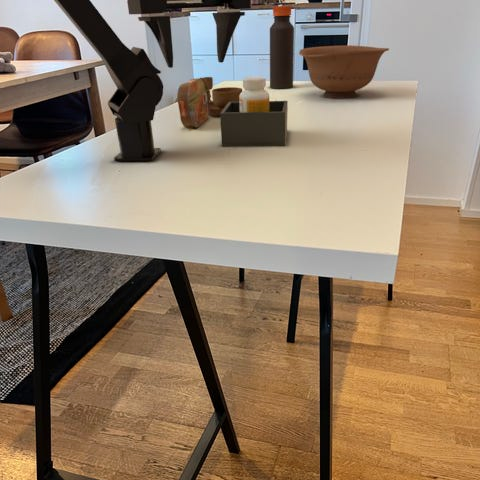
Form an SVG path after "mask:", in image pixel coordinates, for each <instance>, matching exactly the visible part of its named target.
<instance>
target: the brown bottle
mask: <svg viewBox="0 0 480 480" xmlns="http://www.w3.org/2000/svg"><path fill="white" fill-rule="evenodd" d="M272 16H273V18H272V19H274V20H273V23H272V25H271V26H269V87H270V89H274V90H286V89H291V88H293V87H294V58H295V57H294V56H295V55H294V51H295V45H294V44H295V27H294V25H293V24H292V22H291V17H292V6H291V5H277V6H276V5H275V6H272Z"/></svg>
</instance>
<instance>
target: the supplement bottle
mask: <svg viewBox="0 0 480 480" xmlns="http://www.w3.org/2000/svg"><path fill="white" fill-rule="evenodd" d="M266 79H267V78H266V77H264V76H249V77H248V76H247V77H244V78H243V79H242V89H244V90H242V92H241V93H240V96H239V105H240V112H269V101H270V93H269V92H268V91H267V90H266V89H265V87H266V85H267V83H266V82H267V81H266Z"/></svg>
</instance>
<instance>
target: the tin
mask: <svg viewBox="0 0 480 480" xmlns="http://www.w3.org/2000/svg"><path fill="white" fill-rule="evenodd" d="M203 78H204V77H199V78H190V79H189V80H187V81H185V82H184V83H181V84H180V85H179V86H178V88H177V95H176V99H177V101H176V102H177V105H178V111H179V117H180V118H179V119H180V123H181V124H182V125H183V127H184V128H187V129H189V128H191V129H192V128H200V127H201V125H203V124H204V123H205V122H206V121H207V120H208V119H209V116H210V115H209V95H208V89H207V86H206V83H205V80H204V79H203Z"/></svg>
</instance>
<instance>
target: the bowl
mask: <svg viewBox="0 0 480 480" xmlns="http://www.w3.org/2000/svg"><path fill="white" fill-rule="evenodd" d="M388 51H390V48H388V47H375V46H374V47H373V46H366V45H352V44H351V45H327V46H315V47H314V46H313V47H306V48H305V47H304V48H301V49H299V52H298V55H300V56H302V57H303V58H304V60H305V61H306V65H307V70H308V76H309V79H310V82H311V84H313V86H314V87H316V88H318V89H319V90H321V91H324V93H322V97H323V98H327V99H350V98H355V97H358V93H357V92H356V91H358V90H361V89H363V88H365V87H366V86H368V85H369V84H370V83H371V82H372V80H373V79H374V76H375V74H376V72H377V67H378V65H379V63H380V62H379V61H380V59H381V57H382V56H383V54H384V53H385V52H388Z"/></svg>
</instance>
